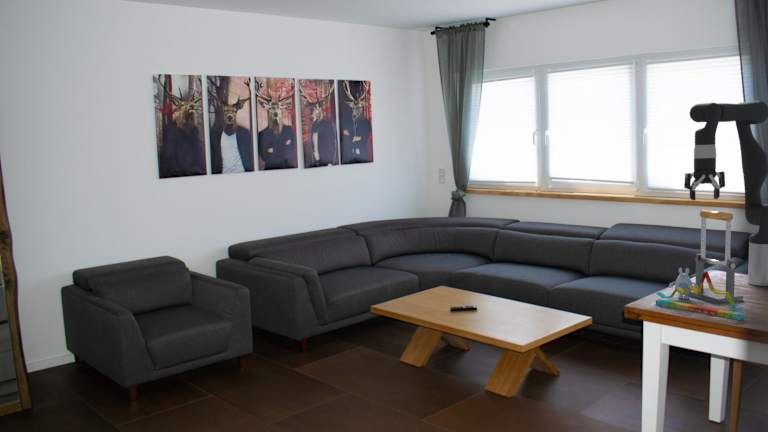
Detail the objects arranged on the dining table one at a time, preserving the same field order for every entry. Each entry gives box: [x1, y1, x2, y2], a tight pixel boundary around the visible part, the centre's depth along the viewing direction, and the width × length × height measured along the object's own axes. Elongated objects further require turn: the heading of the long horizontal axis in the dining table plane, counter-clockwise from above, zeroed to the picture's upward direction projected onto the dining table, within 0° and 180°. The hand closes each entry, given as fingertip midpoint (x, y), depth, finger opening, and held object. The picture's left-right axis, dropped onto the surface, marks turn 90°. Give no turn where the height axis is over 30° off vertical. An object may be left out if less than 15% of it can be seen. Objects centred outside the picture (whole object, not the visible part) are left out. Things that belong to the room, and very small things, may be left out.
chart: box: [655, 271, 745, 321], centre depth 245 cm, size 30×3×15 cm, turn 39°
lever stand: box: [687, 253, 744, 305], centre depth 262 cm, size 12×18×16 cm
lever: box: [699, 209, 734, 268], centre depth 260 cm, size 3×13×20 cm, turn 19°
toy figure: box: [668, 267, 699, 300], centre depth 263 cm, size 11×6×12 cm, turn 63°
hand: (704, 199), depth 259 cm, fingers open, 8 cm apart
